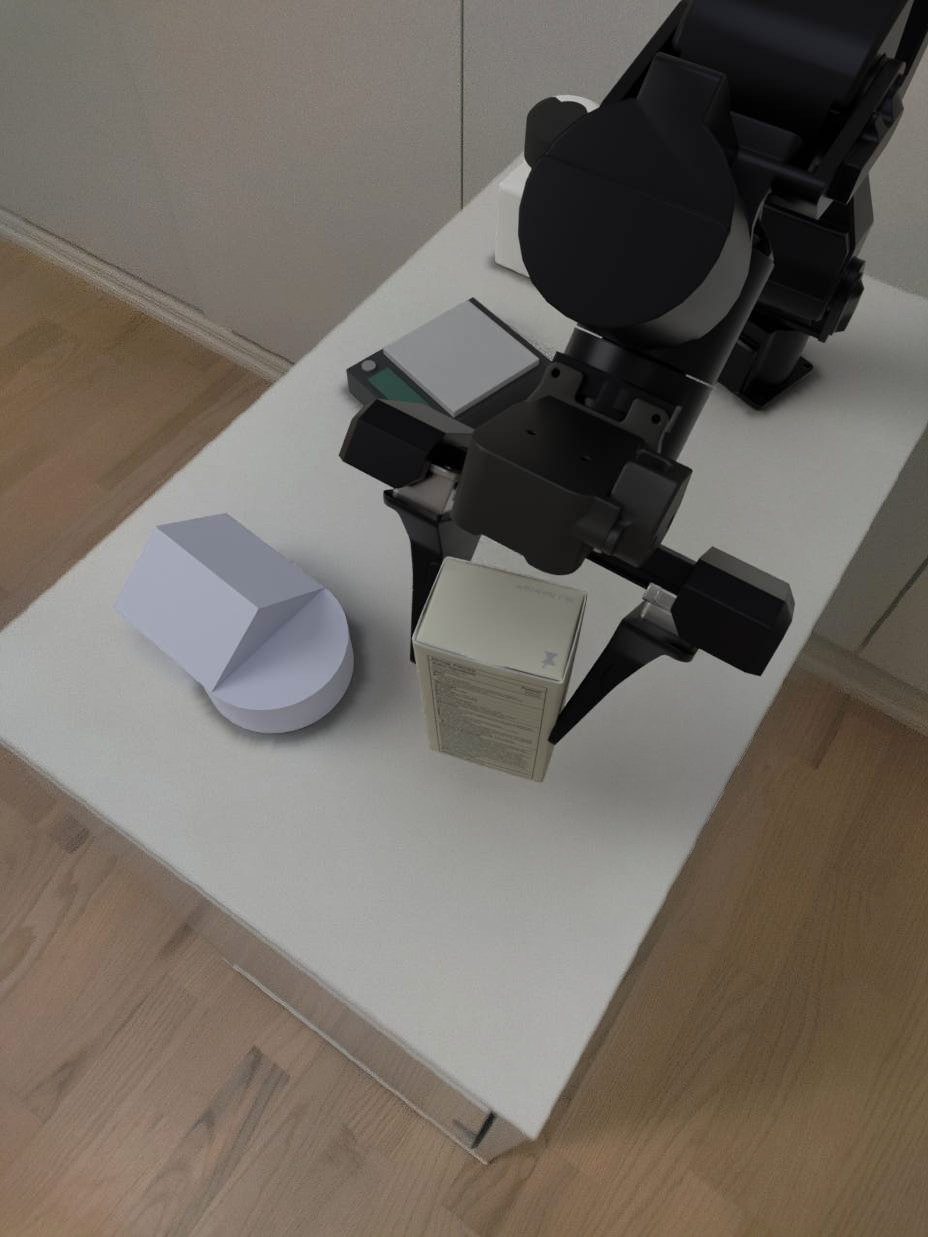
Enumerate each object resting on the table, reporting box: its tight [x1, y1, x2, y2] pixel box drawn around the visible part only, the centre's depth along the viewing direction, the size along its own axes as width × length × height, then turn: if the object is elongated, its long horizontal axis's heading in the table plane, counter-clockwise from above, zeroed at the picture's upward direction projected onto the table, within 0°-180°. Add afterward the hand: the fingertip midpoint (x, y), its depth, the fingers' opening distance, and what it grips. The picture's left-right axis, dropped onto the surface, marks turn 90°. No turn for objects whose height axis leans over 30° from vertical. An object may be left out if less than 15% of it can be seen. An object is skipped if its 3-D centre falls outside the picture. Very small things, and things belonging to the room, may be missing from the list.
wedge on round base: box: [112, 512, 355, 734], centre depth 51 cm, size 9×7×13 cm
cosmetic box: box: [412, 557, 588, 784], centre depth 39 cm, size 6×4×12 cm
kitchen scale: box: [345, 296, 552, 429], centre depth 63 cm, size 12×9×3 cm
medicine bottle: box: [494, 94, 600, 279], centre depth 67 cm, size 7×7×12 cm
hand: (483, 700), depth 38 cm, fingers closed on cosmetic box, 7 cm apart
